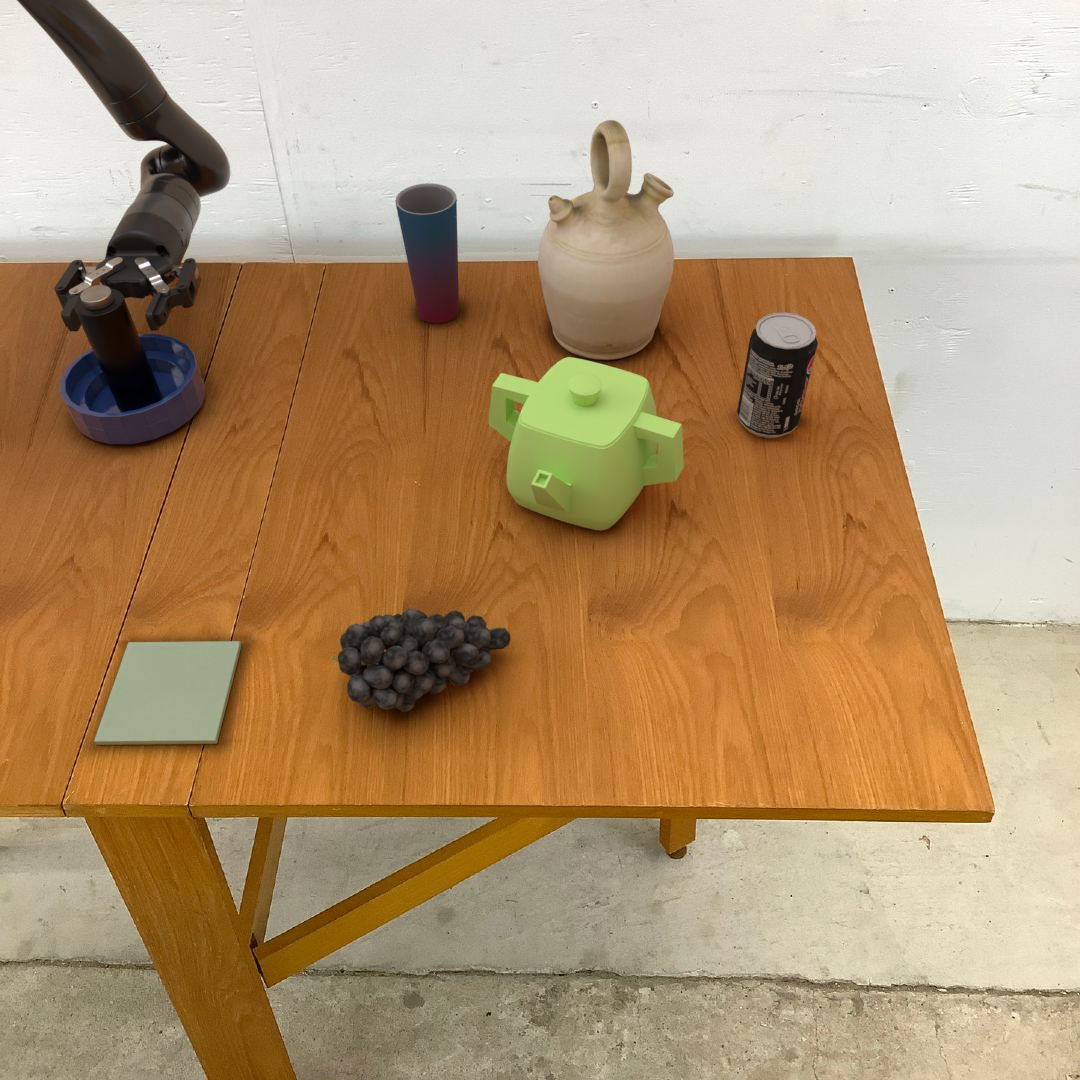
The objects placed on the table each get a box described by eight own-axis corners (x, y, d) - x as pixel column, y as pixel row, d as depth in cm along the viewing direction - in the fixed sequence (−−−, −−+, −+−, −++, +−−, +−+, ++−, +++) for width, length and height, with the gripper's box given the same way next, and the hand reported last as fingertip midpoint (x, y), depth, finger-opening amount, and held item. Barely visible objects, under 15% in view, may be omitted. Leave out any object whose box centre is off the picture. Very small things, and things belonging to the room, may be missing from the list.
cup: (447, 289, 124) (435, 177, 112) (477, 314, 120) (468, 201, 109) (400, 308, 121) (383, 195, 110) (429, 335, 117) (415, 221, 106)
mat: (96, 745, 81) (93, 741, 80) (130, 645, 87) (127, 641, 87) (217, 744, 80) (215, 740, 80) (242, 644, 87) (240, 640, 87)
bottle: (112, 415, 107) (63, 307, 97) (124, 387, 111) (79, 280, 100) (155, 415, 107) (112, 306, 97) (167, 386, 111) (126, 279, 100)
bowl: (57, 449, 105) (40, 417, 101) (97, 366, 114) (83, 334, 111) (189, 447, 105) (177, 415, 101) (219, 364, 114) (208, 332, 111)
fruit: (501, 568, 81) (318, 612, 77) (530, 661, 78) (341, 711, 74) (495, 605, 88) (328, 646, 85) (520, 691, 85) (349, 737, 82)
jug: (662, 291, 122) (681, 89, 104) (671, 369, 112) (693, 160, 93) (540, 292, 123) (536, 90, 104) (537, 369, 112) (533, 161, 94)
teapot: (634, 592, 90) (643, 493, 81) (444, 528, 96) (430, 427, 86) (699, 466, 101) (713, 365, 92) (524, 414, 107) (521, 314, 98)
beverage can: (783, 397, 108) (803, 305, 100) (808, 436, 104) (831, 343, 95) (726, 407, 108) (741, 315, 99) (750, 447, 103) (767, 355, 94)
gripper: (78, 211, 110) (27, 294, 99) (204, 209, 110) (168, 292, 99) (101, 269, 116) (56, 354, 105) (221, 268, 115) (189, 352, 105)
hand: (110, 324), depth 102 cm, fingers open, 8 cm apart
